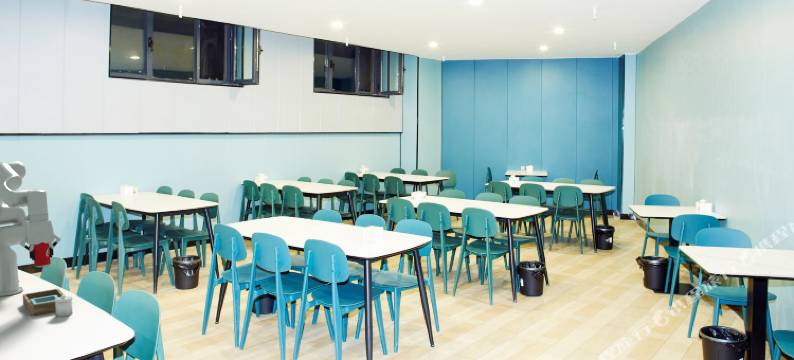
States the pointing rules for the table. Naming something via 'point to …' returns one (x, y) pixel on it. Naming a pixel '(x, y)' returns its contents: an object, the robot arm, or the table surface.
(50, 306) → the caddy
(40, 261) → the beverage can
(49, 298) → the socket
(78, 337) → the table surface
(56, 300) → the sugar pot
